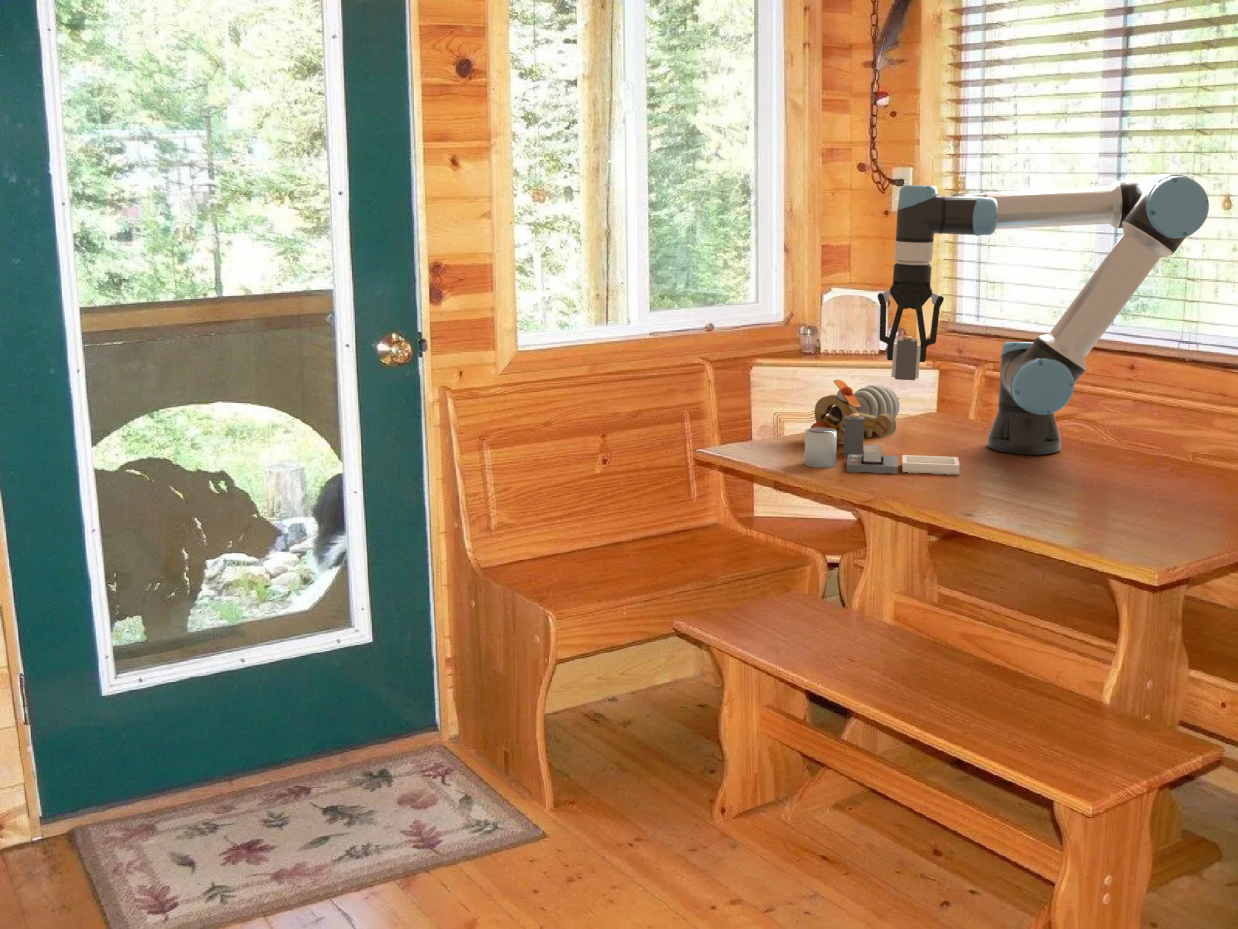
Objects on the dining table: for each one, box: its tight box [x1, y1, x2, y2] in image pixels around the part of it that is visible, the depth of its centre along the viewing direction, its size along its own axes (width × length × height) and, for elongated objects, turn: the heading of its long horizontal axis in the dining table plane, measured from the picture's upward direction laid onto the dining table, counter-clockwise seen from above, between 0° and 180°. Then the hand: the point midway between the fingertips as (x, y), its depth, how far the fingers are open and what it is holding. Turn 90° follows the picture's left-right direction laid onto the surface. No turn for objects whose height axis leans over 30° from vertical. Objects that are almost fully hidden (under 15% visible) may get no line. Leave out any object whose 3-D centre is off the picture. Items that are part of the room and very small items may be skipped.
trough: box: [901, 454, 960, 476], centre depth 284 cm, size 11×8×2 cm
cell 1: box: [843, 414, 865, 457], centre depth 298 cm, size 4×4×9 cm
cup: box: [803, 427, 838, 469], centre depth 288 cm, size 6×6×7 cm
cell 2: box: [894, 335, 919, 381], centre depth 290 cm, size 4×4×9 cm
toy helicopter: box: [810, 379, 897, 444], centre depth 305 cm, size 8×21×14 cm, turn 43°
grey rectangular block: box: [863, 444, 882, 462], centre depth 286 cm, size 3×7×2 cm, turn 170°
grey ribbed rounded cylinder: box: [853, 384, 900, 438], centre depth 318 cm, size 11×17×11 cm, turn 135°
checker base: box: [846, 454, 899, 475], centre depth 286 cm, size 10×10×2 cm
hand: (905, 376), depth 291 cm, fingers closed on cell 2, 4 cm apart
